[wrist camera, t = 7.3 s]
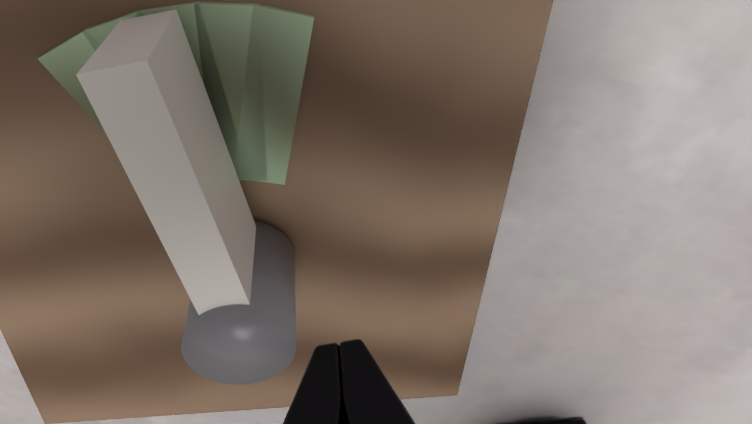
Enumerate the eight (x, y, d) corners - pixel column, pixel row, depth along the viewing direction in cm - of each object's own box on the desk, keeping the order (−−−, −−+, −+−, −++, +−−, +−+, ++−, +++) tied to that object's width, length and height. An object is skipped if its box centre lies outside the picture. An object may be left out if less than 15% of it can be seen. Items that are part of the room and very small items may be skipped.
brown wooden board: (451, 376, 30) (458, 398, 29) (53, 401, 27) (43, 427, 26) (539, -13, 18) (556, -2, 17) (-141, -40, 15) (-175, -29, 14)
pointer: (304, 282, 22) (307, 371, 19) (217, 300, 22) (203, 393, 19) (212, -1, 16) (189, 54, 12) (88, 24, 16) (28, 87, 12)
